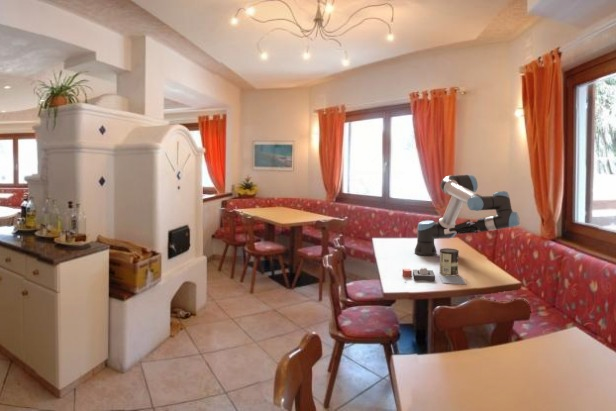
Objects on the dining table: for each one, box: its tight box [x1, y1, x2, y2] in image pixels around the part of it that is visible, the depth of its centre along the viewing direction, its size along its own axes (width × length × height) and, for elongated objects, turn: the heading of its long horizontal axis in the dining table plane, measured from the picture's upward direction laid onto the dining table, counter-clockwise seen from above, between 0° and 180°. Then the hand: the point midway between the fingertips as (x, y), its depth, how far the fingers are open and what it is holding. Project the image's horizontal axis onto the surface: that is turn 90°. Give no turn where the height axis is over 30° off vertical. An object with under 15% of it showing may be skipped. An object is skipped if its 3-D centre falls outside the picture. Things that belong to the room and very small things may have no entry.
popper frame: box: [412, 269, 436, 282], centre depth 201 cm, size 11×11×3 cm
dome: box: [419, 267, 429, 275], centre depth 201 cm, size 5×5×5 cm
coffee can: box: [439, 247, 460, 277], centre depth 208 cm, size 10×10×14 cm
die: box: [402, 268, 413, 279], centre depth 205 cm, size 4×4×4 cm
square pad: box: [438, 275, 467, 285], centre depth 196 cm, size 12×12×1 cm
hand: (444, 231), depth 210 cm, fingers closed
